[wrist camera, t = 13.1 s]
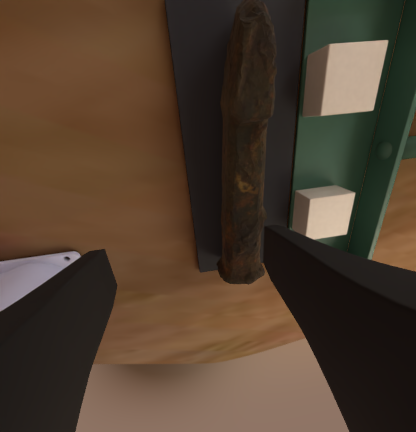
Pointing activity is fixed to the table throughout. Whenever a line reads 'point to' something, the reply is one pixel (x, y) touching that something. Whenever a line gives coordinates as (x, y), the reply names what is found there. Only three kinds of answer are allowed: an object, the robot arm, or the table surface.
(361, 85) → the beige rectangular prism
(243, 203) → the dark brown rough bar
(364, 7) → the dustpan
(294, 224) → the beige square block
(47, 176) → the table surface
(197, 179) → the desk mat
